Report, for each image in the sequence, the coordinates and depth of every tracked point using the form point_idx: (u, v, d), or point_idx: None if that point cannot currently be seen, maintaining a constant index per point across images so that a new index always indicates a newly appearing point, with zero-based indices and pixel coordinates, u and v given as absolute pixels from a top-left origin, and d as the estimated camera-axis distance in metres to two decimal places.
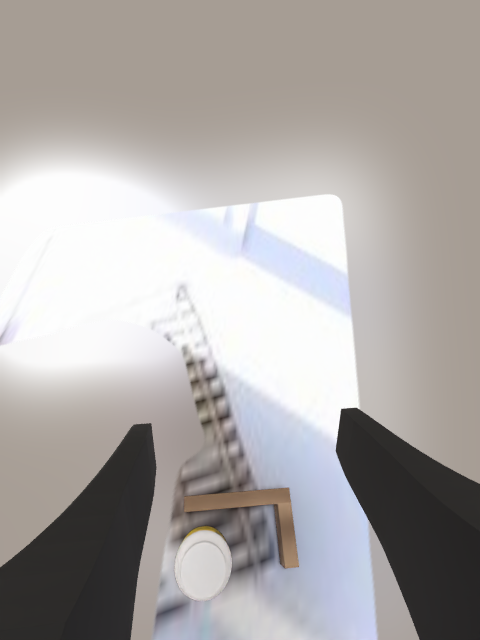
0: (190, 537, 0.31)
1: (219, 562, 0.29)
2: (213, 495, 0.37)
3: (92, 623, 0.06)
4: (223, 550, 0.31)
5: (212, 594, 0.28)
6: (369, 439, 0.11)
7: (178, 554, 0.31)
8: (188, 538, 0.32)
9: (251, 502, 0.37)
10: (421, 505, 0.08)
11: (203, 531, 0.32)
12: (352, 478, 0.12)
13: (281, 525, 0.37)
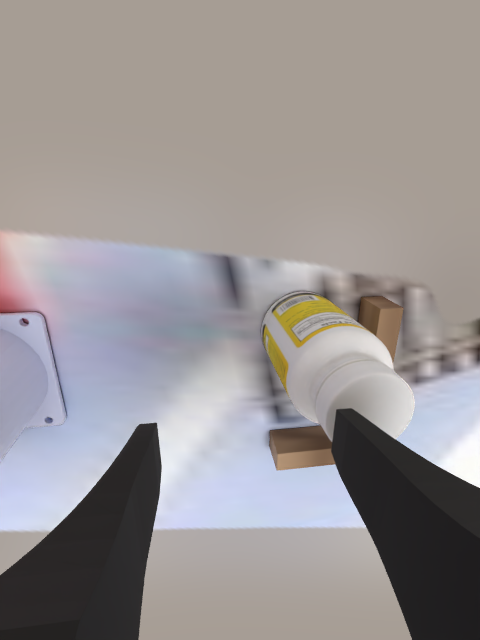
0: (391, 358, 0.16)
1: None
2: (392, 355, 0.22)
3: (104, 621, 0.06)
4: None
5: (329, 433, 0.14)
6: (363, 440, 0.11)
7: (370, 339, 0.15)
8: (389, 354, 0.16)
9: None
10: (414, 506, 0.08)
11: None
12: (347, 479, 0.12)
13: (330, 450, 0.24)
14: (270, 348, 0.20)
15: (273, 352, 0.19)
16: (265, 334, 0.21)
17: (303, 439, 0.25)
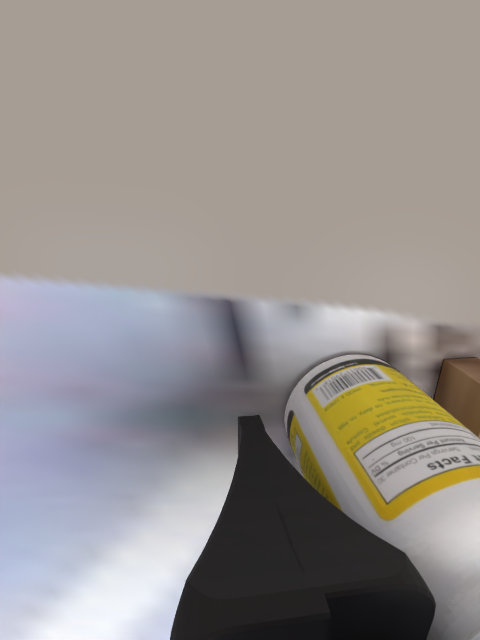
0: None
1: None
2: None
3: None
4: None
5: None
6: (248, 450, 0.10)
7: None
8: None
9: None
10: None
11: None
12: None
13: None
14: (306, 467, 0.11)
15: (315, 482, 0.10)
16: (294, 431, 0.12)
17: None
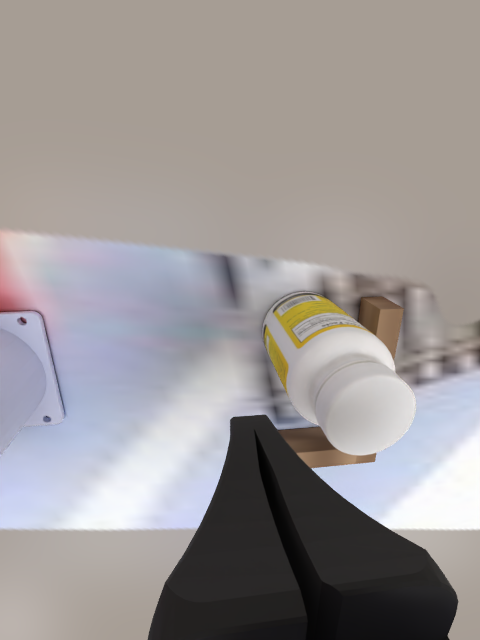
0: (392, 360, 0.16)
1: (376, 444, 0.14)
2: (392, 356, 0.21)
3: None
4: None
5: (329, 436, 0.14)
6: (261, 449, 0.10)
7: (371, 340, 0.15)
8: (390, 355, 0.16)
9: None
10: (284, 520, 0.08)
11: None
12: None
13: (329, 451, 0.24)
14: (271, 349, 0.19)
15: (274, 353, 0.19)
16: (266, 335, 0.21)
17: (302, 440, 0.24)
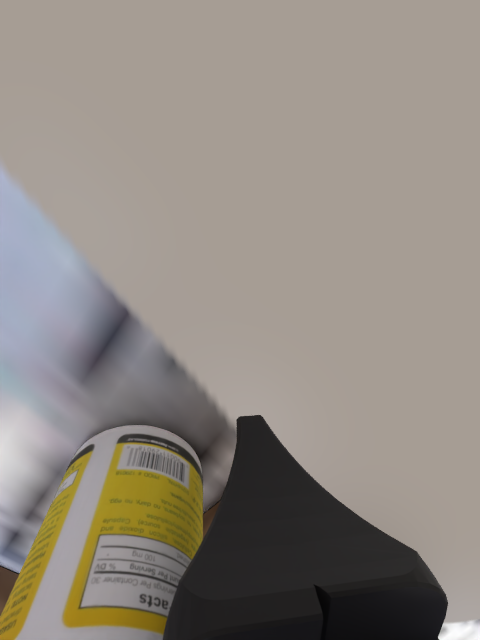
0: None
1: None
2: None
3: None
4: None
5: None
6: (255, 450, 0.10)
7: None
8: None
9: None
10: None
11: None
12: None
13: None
14: (55, 508, 0.10)
15: (47, 530, 0.10)
16: (78, 466, 0.12)
17: None
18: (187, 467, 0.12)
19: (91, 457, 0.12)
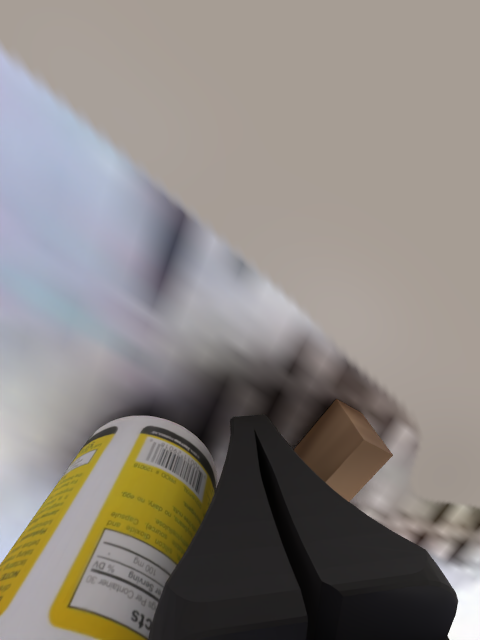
0: None
1: None
2: None
3: None
4: None
5: None
6: (261, 449, 0.10)
7: None
8: None
9: None
10: (284, 520, 0.08)
11: None
12: None
13: None
14: (66, 484, 0.10)
15: (53, 506, 0.09)
16: (97, 445, 0.11)
17: None
18: (204, 478, 0.11)
19: (112, 440, 0.11)
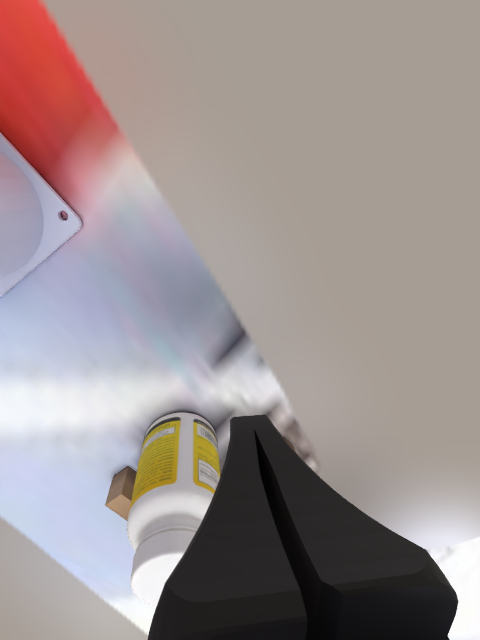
0: None
1: (147, 595, 0.16)
2: None
3: None
4: None
5: (146, 564, 0.15)
6: (261, 449, 0.10)
7: None
8: None
9: None
10: (284, 520, 0.08)
11: None
12: None
13: None
14: (167, 441, 0.21)
15: (168, 449, 0.20)
16: (173, 425, 0.22)
17: None
18: (217, 447, 0.24)
19: (181, 423, 0.23)
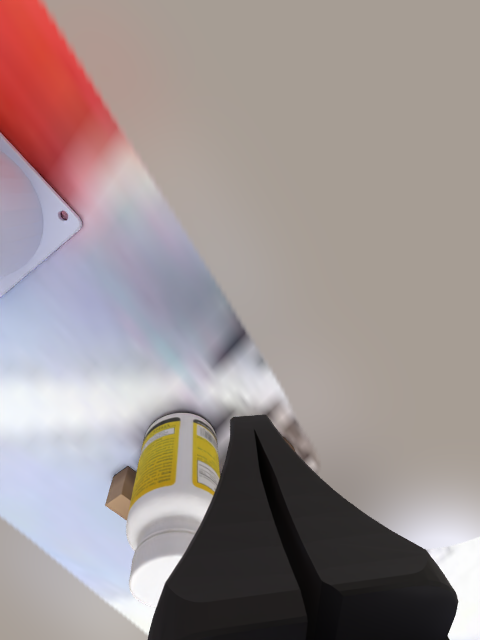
0: None
1: (146, 596, 0.16)
2: None
3: None
4: None
5: (144, 566, 0.15)
6: (261, 449, 0.10)
7: None
8: None
9: None
10: (284, 520, 0.08)
11: None
12: None
13: None
14: (167, 442, 0.21)
15: (167, 450, 0.20)
16: (173, 425, 0.22)
17: None
18: (217, 447, 0.24)
19: (180, 424, 0.22)
